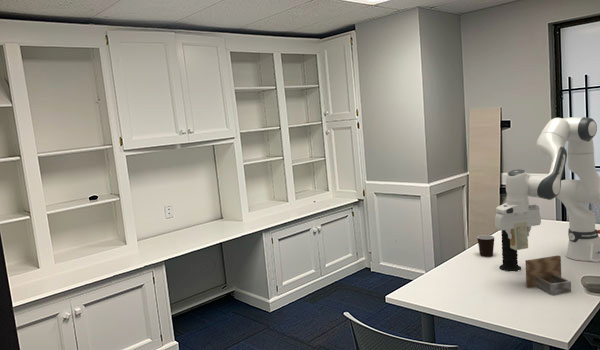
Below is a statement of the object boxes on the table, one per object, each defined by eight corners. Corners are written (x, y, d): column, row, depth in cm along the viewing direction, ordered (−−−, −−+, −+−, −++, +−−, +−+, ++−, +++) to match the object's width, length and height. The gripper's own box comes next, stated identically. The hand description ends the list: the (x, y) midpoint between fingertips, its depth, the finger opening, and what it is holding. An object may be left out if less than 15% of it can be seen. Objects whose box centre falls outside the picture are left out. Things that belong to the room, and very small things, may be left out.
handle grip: (501, 271, 221) (524, 271, 219) (499, 218, 217) (522, 217, 215) (497, 264, 231) (518, 264, 228) (495, 213, 227) (516, 212, 225)
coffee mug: (492, 258, 240) (491, 240, 239) (475, 256, 246) (475, 238, 244) (498, 252, 249) (497, 234, 248) (482, 250, 255) (481, 233, 253)
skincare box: (522, 246, 207) (521, 219, 206) (528, 248, 203) (527, 221, 202) (509, 248, 206) (508, 221, 205) (515, 250, 202) (514, 223, 201)
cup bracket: (558, 281, 203) (558, 255, 202) (578, 290, 192) (578, 263, 191) (526, 286, 201) (525, 260, 199) (544, 296, 190) (543, 268, 188)
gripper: (534, 202, 207) (535, 232, 209) (492, 208, 204) (493, 238, 206) (543, 205, 201) (544, 235, 202) (500, 211, 198) (502, 242, 199)
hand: (518, 237), depth 204 cm, fingers closed on skincare box, 6 cm apart
